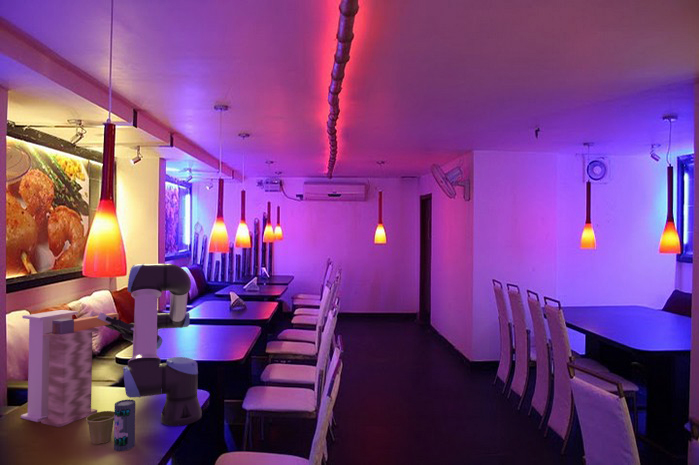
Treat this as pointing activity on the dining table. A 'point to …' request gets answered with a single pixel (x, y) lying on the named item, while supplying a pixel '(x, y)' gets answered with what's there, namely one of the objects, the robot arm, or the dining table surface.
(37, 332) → the grey stand
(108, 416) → the plant pot
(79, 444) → the dining table surface
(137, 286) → the robot arm
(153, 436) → the dining table surface
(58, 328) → the orange bar
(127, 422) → the can
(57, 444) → the dining table surface
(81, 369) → the birch stand
